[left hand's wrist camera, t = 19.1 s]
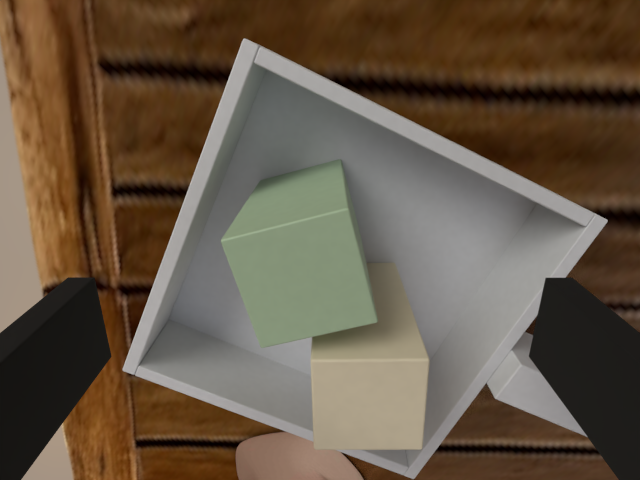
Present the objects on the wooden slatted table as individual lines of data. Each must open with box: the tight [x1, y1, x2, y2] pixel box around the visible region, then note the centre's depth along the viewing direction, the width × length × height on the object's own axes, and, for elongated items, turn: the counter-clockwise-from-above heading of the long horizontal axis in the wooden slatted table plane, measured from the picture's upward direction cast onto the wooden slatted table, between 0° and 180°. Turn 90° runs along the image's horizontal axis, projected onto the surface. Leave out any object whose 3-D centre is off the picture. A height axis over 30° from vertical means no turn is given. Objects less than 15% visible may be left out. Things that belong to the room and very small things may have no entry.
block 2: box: [311, 263, 430, 450], centre depth 19 cm, size 4×4×8 cm
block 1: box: [221, 159, 378, 348], centre depth 17 cm, size 4×4×8 cm
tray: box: [123, 39, 608, 479], centre depth 21 cm, size 28×15×6 cm, turn 65°
